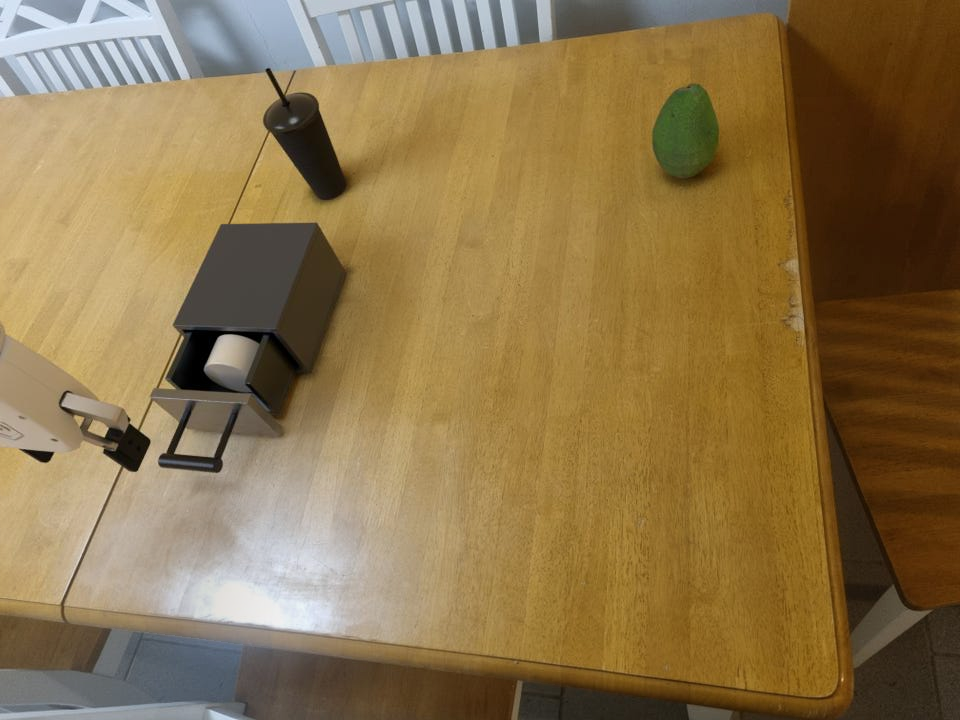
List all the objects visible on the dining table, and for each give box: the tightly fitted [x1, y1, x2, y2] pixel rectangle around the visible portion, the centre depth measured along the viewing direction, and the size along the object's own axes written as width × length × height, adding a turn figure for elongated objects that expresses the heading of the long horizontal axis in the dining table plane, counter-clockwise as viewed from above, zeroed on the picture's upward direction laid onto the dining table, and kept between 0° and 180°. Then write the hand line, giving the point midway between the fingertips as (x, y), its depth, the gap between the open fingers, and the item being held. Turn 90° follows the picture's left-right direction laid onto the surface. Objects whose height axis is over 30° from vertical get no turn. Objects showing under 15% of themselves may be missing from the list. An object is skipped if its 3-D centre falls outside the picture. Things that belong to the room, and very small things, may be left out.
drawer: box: [149, 330, 298, 474], centre depth 84 cm, size 21×12×8 cm, turn 169°
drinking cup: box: [262, 67, 347, 201], centre depth 98 cm, size 8×8×20 cm
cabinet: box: [172, 222, 347, 375], centre depth 90 cm, size 16×14×10 cm
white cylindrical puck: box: [204, 334, 260, 392], centre depth 85 cm, size 6×6×4 cm
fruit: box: [651, 82, 720, 179], centre depth 88 cm, size 8×8×12 cm
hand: (97, 452), depth 66 cm, fingers open, 9 cm apart
